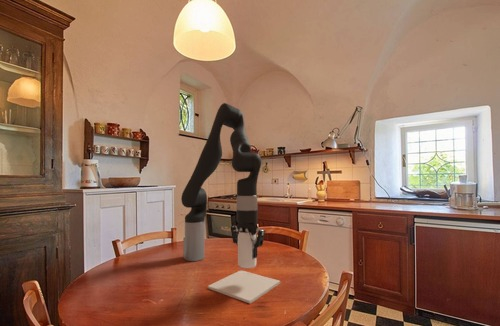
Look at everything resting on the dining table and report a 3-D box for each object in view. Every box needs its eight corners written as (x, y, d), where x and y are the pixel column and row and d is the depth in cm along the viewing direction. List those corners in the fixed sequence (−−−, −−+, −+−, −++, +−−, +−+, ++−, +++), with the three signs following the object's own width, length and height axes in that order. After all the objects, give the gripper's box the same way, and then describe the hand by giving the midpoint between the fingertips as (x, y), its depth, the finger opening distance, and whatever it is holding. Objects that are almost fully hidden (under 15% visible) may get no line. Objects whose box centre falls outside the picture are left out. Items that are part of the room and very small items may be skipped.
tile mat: (207, 288, 84) (207, 285, 84) (240, 272, 98) (240, 270, 98) (250, 303, 73) (250, 300, 73) (280, 283, 88) (280, 280, 88)
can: (254, 269, 82) (254, 233, 83) (235, 268, 83) (235, 232, 84) (257, 263, 88) (257, 229, 89) (240, 262, 90) (240, 228, 90)
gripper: (224, 208, 88) (225, 256, 87) (257, 210, 80) (258, 264, 79) (238, 206, 94) (238, 251, 93) (269, 208, 86) (270, 258, 85)
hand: (247, 257), depth 86 cm, fingers closed on can, 5 cm apart
